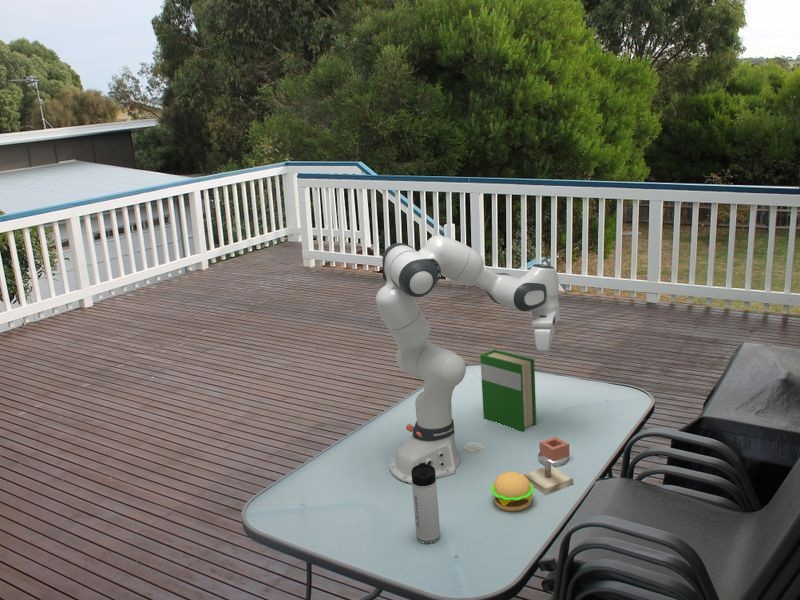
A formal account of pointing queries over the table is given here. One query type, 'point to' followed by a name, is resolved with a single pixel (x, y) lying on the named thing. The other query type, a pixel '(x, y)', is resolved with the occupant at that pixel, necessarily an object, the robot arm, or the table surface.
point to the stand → (549, 479)
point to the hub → (555, 463)
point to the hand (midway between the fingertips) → (546, 356)
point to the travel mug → (425, 503)
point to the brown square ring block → (554, 449)
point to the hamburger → (512, 491)
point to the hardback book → (508, 389)
